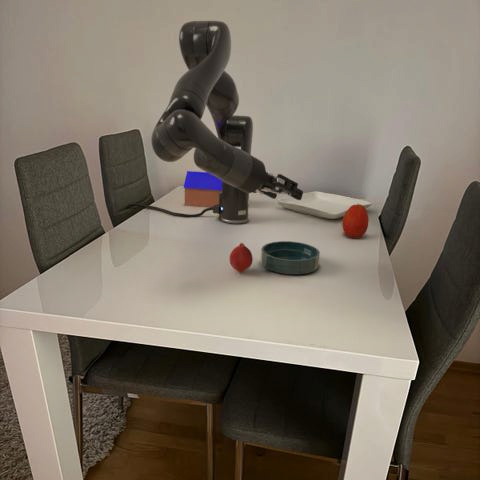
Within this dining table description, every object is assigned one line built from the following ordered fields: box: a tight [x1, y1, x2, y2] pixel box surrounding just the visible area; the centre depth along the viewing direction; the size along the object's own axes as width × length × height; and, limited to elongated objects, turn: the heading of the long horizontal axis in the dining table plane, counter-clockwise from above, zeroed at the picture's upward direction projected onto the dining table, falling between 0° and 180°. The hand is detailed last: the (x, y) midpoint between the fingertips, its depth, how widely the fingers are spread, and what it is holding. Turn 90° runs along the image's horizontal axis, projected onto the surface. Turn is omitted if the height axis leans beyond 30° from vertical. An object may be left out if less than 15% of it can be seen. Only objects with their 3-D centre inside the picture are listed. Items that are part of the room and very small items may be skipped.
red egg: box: [341, 204, 370, 239], centre depth 144 cm, size 8×8×11 cm
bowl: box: [260, 240, 321, 275], centre depth 120 cm, size 15×15×4 cm
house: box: [183, 170, 222, 208], centre depth 174 cm, size 12×20×12 cm, turn 81°
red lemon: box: [229, 242, 254, 274], centre depth 113 cm, size 6×6×8 cm
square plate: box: [275, 190, 374, 220], centre depth 173 cm, size 27×27×4 cm
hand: (288, 195), depth 109 cm, fingers open, 8 cm apart
